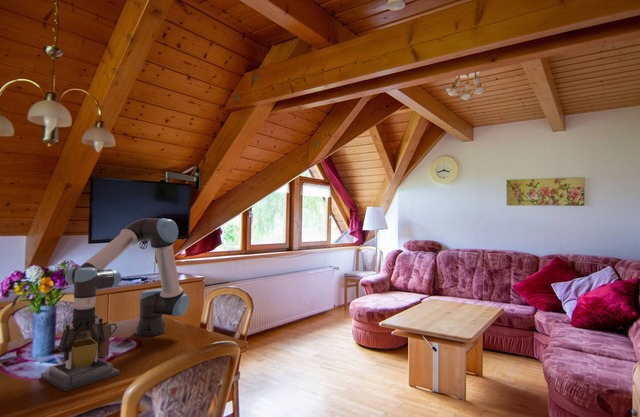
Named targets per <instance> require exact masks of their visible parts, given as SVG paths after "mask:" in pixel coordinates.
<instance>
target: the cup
mask: <svg viewBox="0 0 640 417" xmlns="http://www.w3.org/2000/svg"><path fill="white" fill-rule="evenodd" d="M109 324H110V337H112V335H113V334H114V333H115V332H116V331H117V328H118V324H117V323H115V322H112V323H110V322H108V321H105V322H102V327H104V326H106V325H109ZM112 326H114V327H115V328H114V329H113V330H112ZM73 329H74V327H71V329H70V333H69V337H68V340H69V338H70V336H71V334H72V331H73ZM76 332H77V331H76ZM97 333H98V332H97ZM87 334H88V331H83V332H80V334H79V335H78V336H77V338H76V340H75V341H78V340H84V339H87ZM68 340H67V342H68Z"/></svg>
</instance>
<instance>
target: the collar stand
mask: <svg viewBox="0 0 640 417" xmlns="http://www.w3.org/2000/svg"><path fill="white" fill-rule="evenodd" d="M48 370H49V371H45V372H41V373H40V378H41V379H43V380H44V381H46V382H47V383H49V384H51V385H53V386H55V387H56V388H58V389H60V390H62V391H64V392H65V393H66V392H69V391H72V390H74V389H77V388H81V387H84V386H87V385H90V384H93V383H96V382H99V381H103V380H106V379H109V378H112V377H115V376H118V375H120V374H121V372H120V371H121V370H120V369H117V368H115V367H113V363H111V362H109V361H107V360H104V359H103V358H100V357H97V362H94V361H93V363H92V364H91V365H90V366H86V367H81V368H75V367H74V366H73V365H72V363H71V369H67V368H66V361H65V362H60V363H58V364H54V365H53V364H52V365H51V366H49V368H48Z"/></svg>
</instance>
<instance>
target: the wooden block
mask: <svg viewBox="0 0 640 417" xmlns="http://www.w3.org/2000/svg"><path fill="white" fill-rule="evenodd" d="M94 317H95V319H97V318H98V314H97V313H95V316H94ZM110 324H111V323H110ZM110 324H109V325H106V326H104V327H103V332H104V337H105V341H104V342H102V343H101V345H100V351H99V352H97V357H98V358H100V357H102V358H101V359H103V357H104V358H106V357H108V356H107V355H109V356H110V338H111V336H110ZM92 326H93V328H94V331H95V333H96V335H97V337H98V333H97V327H96V323H94V324H93V325H92ZM89 338H92V337H91V335H90V333H89V332H88V334H87V339H89ZM98 339H99V337H98ZM105 356H106V357H105Z"/></svg>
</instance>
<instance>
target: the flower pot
mask: <svg viewBox="0 0 640 417" xmlns="http://www.w3.org/2000/svg"><path fill="white" fill-rule="evenodd" d="M97 348H98V343H97V342H96V341H94V340H93V339H92V338H89V339H84V340H78V341H75V342H74V344H73V346H72V347H71V349H70V351H71V352H72V359H71V363H72V365H73V366H74V367H75V368H81V367H86V366H90V365H91V364H92V363H93V361H94V359H95V357H96V353H97Z"/></svg>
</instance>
